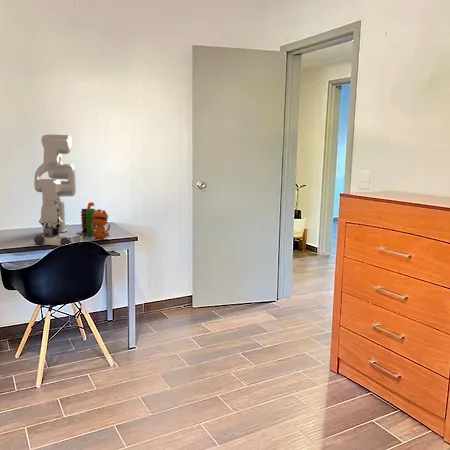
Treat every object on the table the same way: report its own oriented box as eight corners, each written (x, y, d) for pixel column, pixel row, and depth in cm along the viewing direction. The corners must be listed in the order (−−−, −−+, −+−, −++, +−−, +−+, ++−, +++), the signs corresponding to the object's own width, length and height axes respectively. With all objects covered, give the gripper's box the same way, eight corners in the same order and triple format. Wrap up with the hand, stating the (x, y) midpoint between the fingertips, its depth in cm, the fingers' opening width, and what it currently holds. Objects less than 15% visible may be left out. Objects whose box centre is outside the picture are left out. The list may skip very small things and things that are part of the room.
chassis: (50, 238, 260) (50, 230, 259) (85, 241, 256) (84, 232, 255) (33, 244, 245) (33, 235, 244) (69, 247, 240) (69, 238, 239)
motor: (77, 234, 274) (76, 202, 270) (91, 232, 280) (90, 201, 277) (86, 237, 267) (85, 204, 263) (99, 235, 273) (98, 202, 270)
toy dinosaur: (88, 240, 258) (87, 209, 255) (94, 236, 269) (93, 207, 266) (107, 240, 258) (106, 210, 255) (112, 237, 268) (111, 207, 265)
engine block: (51, 234, 255) (50, 223, 253) (59, 235, 254) (58, 223, 252) (43, 236, 248) (43, 225, 247) (51, 237, 247) (51, 225, 246)
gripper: (67, 202, 249) (68, 234, 252) (40, 201, 253) (42, 232, 256) (59, 204, 242) (61, 237, 245) (32, 203, 246) (33, 235, 249)
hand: (51, 234), depth 251 cm, fingers closed on engine block, 4 cm apart
